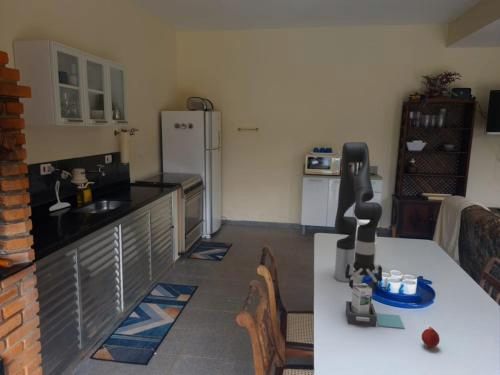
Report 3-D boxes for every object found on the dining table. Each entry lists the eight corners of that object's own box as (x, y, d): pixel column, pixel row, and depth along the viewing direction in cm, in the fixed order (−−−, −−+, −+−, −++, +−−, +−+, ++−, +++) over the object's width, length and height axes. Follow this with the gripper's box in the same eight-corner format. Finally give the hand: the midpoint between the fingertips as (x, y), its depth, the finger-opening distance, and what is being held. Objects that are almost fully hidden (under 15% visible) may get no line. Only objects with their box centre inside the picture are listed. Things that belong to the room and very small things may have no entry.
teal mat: (374, 314, 157) (374, 312, 157) (399, 316, 156) (399, 315, 156) (378, 326, 148) (378, 325, 148) (404, 329, 146) (404, 328, 146)
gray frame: (345, 310, 160) (346, 301, 159) (371, 313, 158) (372, 303, 157) (348, 325, 148) (348, 315, 147) (376, 328, 146) (377, 318, 145)
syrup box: (357, 323, 150) (360, 289, 148) (350, 315, 156) (352, 283, 153) (370, 321, 152) (372, 288, 149) (362, 314, 157) (364, 282, 155)
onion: (433, 342, 137) (435, 322, 136) (441, 352, 132) (444, 331, 130) (417, 342, 137) (420, 322, 136) (425, 352, 132) (427, 331, 130)
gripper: (381, 249, 151) (378, 286, 154) (346, 246, 153) (343, 283, 156) (385, 255, 144) (382, 294, 146) (347, 252, 146) (345, 291, 149)
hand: (362, 288), depth 151 cm, fingers open, 8 cm apart
